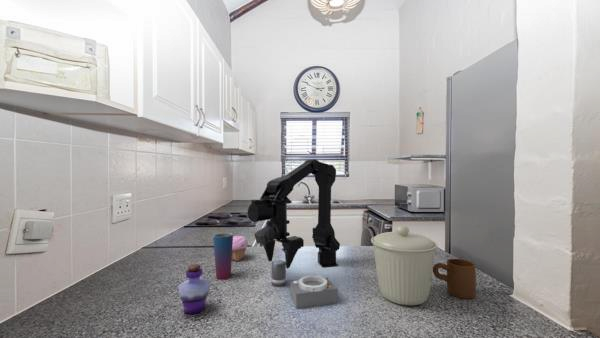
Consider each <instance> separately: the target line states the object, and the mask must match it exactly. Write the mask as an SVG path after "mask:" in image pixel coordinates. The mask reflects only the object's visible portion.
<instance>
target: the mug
mask: <svg viewBox="0 0 600 338" xmlns="http://www.w3.org/2000/svg"><path fill="white" fill-rule="evenodd" d="M439 269H443V270H445V271H446V273H444V274H443V273H440V272H439ZM432 275H434V277H435V278H436V279H438V280H441V281H445V282H446V290H447V292H448V293H449V294H450V295H451V296H453V297H455V298H460V299H462V300H463V299H465V300H471V299H474V298H476V296H477V269H476V264H475V263H474V262H472V261H470V260H467V259H462V258H449V259H447V260H446V264H445V263H443V262H437V263H435V264H433V268H432Z"/></svg>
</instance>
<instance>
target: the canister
mask: <svg viewBox="0 0 600 338" xmlns="http://www.w3.org/2000/svg"><path fill="white" fill-rule="evenodd" d="M395 229H396V230H395V231H389V232H388V231H386V232H382V233H378V234H376V235H375V236H372V237H371V239H370V241H371V244H372V245H373V252H374V261H375V270H376V276H377V281H378V282H377V283H378V289H379V291H380V293H381V295H382V296H383V297H384V298H385V299H386V300H388V301H390V302H392V303H394V304H398V305H402V306H417V305H421V304H423V303H425V302H426V301H427V300H428V297H429V295H430V291H431V282H432V276H433V266H434V257H435V250H436V249H437V247H438V244H437V243H436V242H435V241H434V240H431V238H429V237H427V236H425V235H423V234H422V235H421V234H418V233H413V232H410V229H409V228H408V227H407V226H406V225H398V226H397V227H396V228H395Z"/></svg>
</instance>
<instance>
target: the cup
mask: <svg viewBox="0 0 600 338" xmlns="http://www.w3.org/2000/svg"><path fill="white" fill-rule="evenodd" d="M233 236H234V234H233V233H232V232H218V233H215V234H213V235H212V238H213V250H214V251H213V252H214V263H215V265H214V266H215V277H216V279H217V280H220V281H222V280H223V281H225V280H227V279H230V278H231V277H232V264H233V263H232V262H233V260H232V245H233Z"/></svg>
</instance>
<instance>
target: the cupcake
mask: <svg viewBox="0 0 600 338" xmlns="http://www.w3.org/2000/svg"><path fill="white" fill-rule="evenodd" d="M247 248H248V241H247V239H246V237H245V236H243V235H233V245H232V261H235V262H239V261H241V260H242V259H243V258H244V257H245V255H246V251H247Z"/></svg>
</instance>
